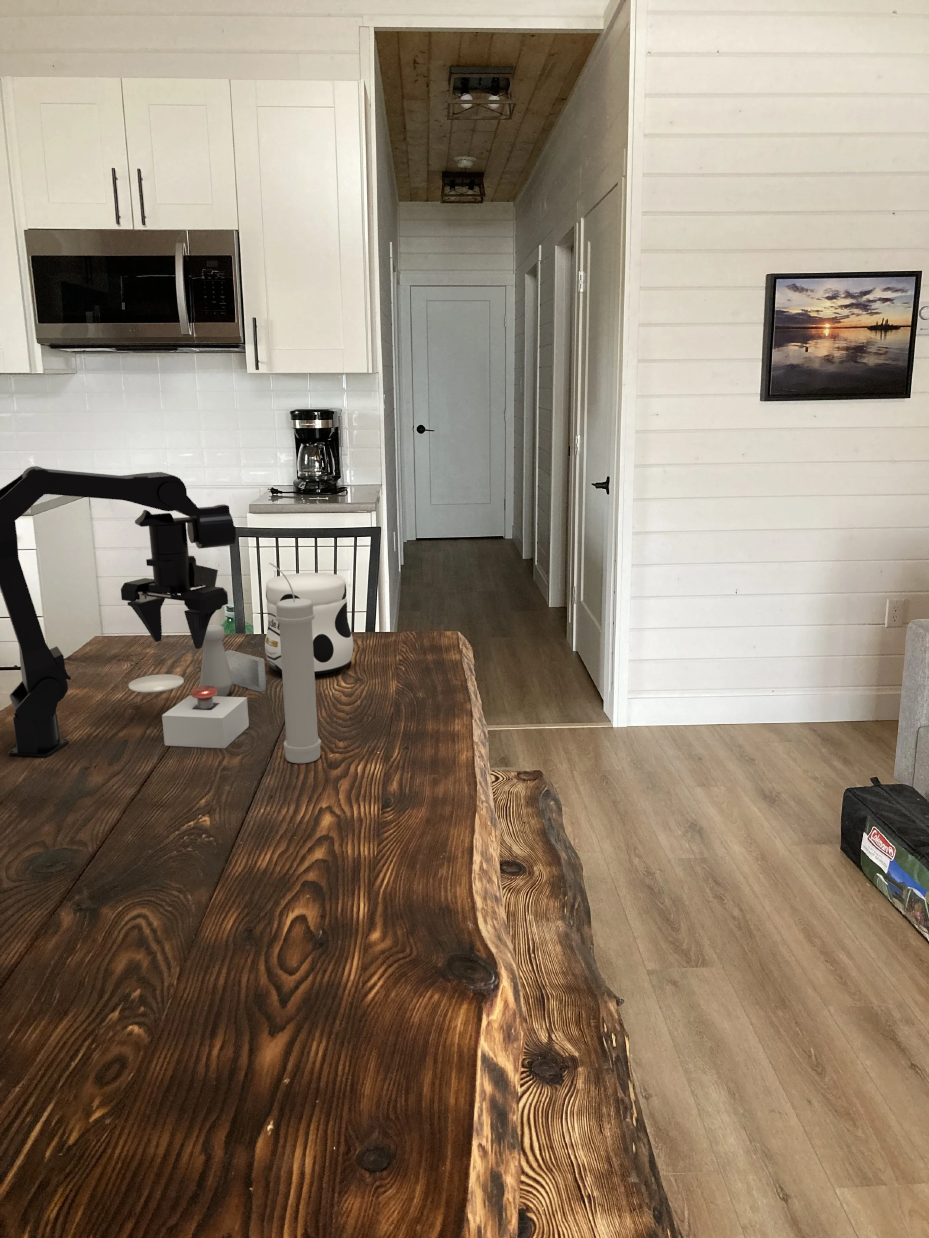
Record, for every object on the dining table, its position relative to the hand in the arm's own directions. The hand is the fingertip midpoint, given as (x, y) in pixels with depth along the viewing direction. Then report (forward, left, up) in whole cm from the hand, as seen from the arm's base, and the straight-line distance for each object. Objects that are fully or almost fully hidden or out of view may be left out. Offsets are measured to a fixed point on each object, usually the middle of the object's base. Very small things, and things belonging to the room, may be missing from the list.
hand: (178, 644), depth 156 cm
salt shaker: (+14, +1, -14) cm, 20 cm away
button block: (-6, -6, -14) cm, 16 cm away
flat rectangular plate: (+20, -3, -14) cm, 24 cm away
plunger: (-6, -6, -11) cm, 14 cm away
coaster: (+19, +15, -14) cm, 27 cm away
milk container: (+32, -11, -14) cm, 37 cm away
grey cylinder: (-13, -24, -14) cm, 31 cm away
